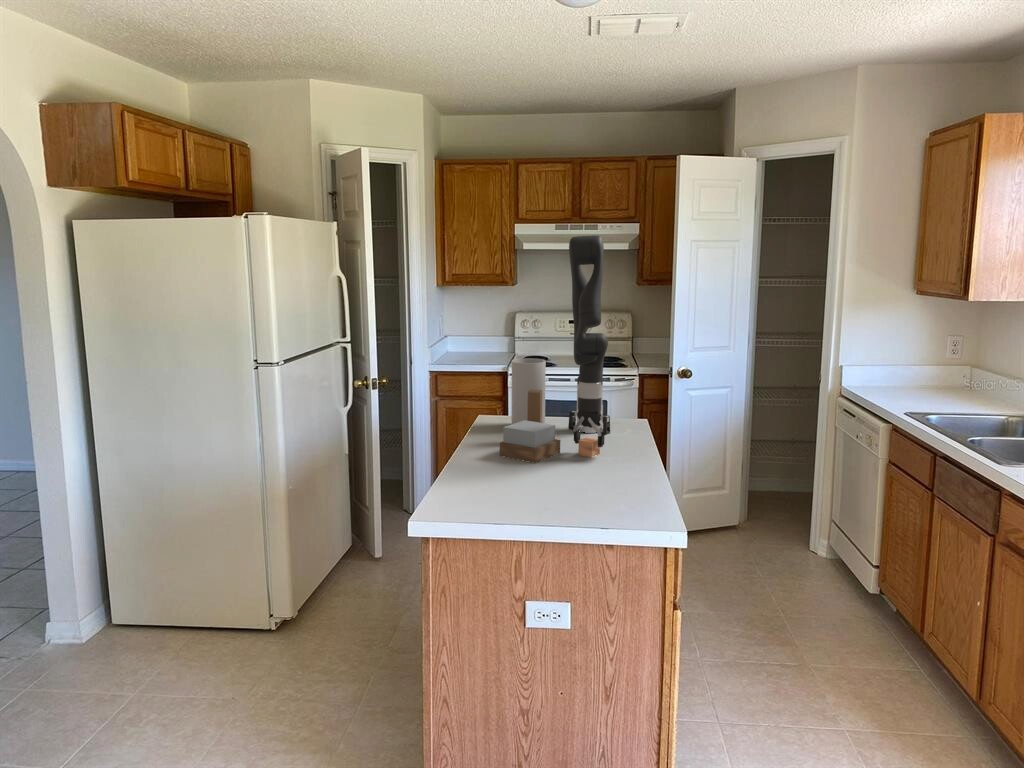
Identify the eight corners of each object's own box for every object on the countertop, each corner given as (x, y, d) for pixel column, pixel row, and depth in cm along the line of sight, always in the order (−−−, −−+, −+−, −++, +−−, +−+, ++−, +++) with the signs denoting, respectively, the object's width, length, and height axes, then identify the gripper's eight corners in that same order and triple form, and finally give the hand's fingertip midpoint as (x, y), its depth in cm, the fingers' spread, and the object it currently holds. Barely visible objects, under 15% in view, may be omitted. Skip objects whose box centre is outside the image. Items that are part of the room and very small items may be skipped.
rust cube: (586, 451, 242) (586, 437, 241) (599, 454, 239) (600, 439, 238) (578, 455, 238) (578, 440, 237) (591, 457, 235) (592, 442, 235)
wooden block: (554, 441, 255) (555, 390, 252) (553, 444, 251) (554, 392, 248) (529, 440, 257) (529, 389, 253) (527, 443, 252) (527, 391, 249)
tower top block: (524, 434, 246) (524, 420, 245) (555, 440, 239) (555, 425, 238) (503, 442, 236) (503, 427, 235) (535, 448, 229) (535, 432, 228)
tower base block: (524, 448, 248) (525, 433, 247) (560, 455, 240) (560, 440, 239) (499, 457, 237) (499, 442, 236) (535, 464, 229) (535, 449, 228)
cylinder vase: (550, 425, 278) (551, 360, 274) (534, 432, 268) (534, 364, 263) (522, 421, 285) (522, 357, 280) (505, 428, 274) (505, 361, 270)
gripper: (615, 396, 234) (613, 446, 237) (577, 391, 243) (576, 439, 245) (603, 399, 228) (601, 450, 231) (564, 394, 237) (563, 444, 239)
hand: (588, 445), depth 238 cm, fingers open, 8 cm apart
